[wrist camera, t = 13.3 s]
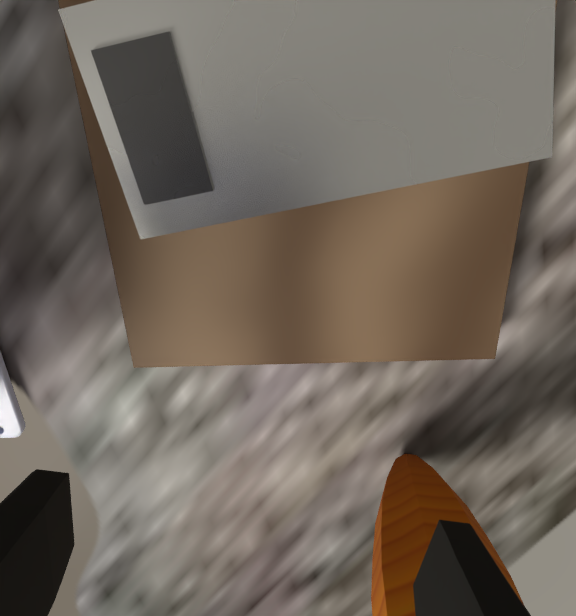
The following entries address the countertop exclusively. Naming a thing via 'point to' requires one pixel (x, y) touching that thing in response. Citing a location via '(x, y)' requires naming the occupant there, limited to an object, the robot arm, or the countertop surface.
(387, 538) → the carrot
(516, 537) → the countertop surface
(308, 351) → the lock board
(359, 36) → the cap
